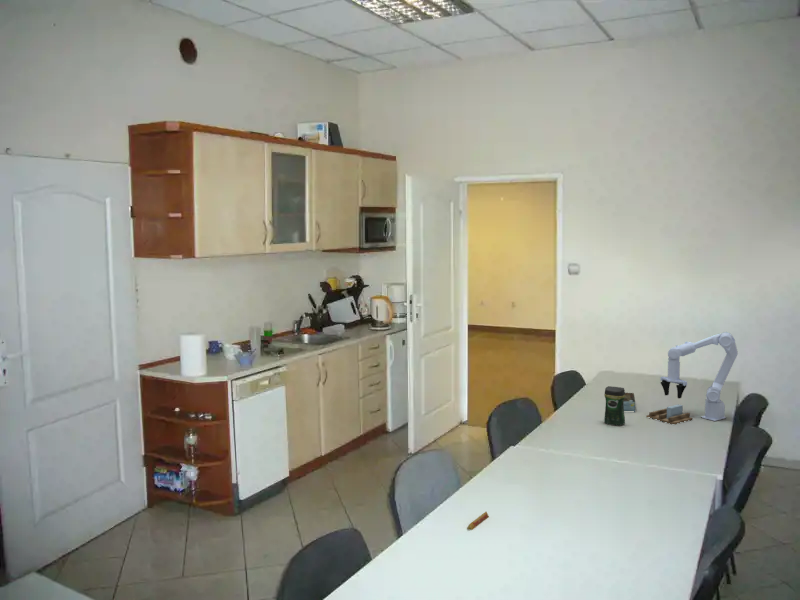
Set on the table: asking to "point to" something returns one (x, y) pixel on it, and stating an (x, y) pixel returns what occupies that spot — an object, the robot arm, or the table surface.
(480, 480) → the table surface
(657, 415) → the rack
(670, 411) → the tile
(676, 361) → the robot arm
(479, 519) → the pencil
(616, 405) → the coffee jar
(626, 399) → the beverage carton
